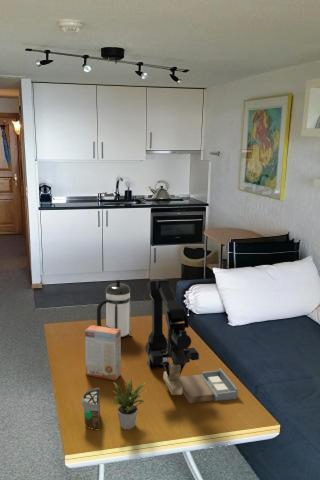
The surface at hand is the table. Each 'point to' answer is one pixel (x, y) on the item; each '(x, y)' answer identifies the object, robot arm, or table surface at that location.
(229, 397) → the grey tray
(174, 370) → the beige l-shaped block
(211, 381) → the cream tile
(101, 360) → the cracker box
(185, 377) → the tan flat block
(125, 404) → the house plant
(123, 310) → the coffee press
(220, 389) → the cream tile
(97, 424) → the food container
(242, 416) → the table surface
